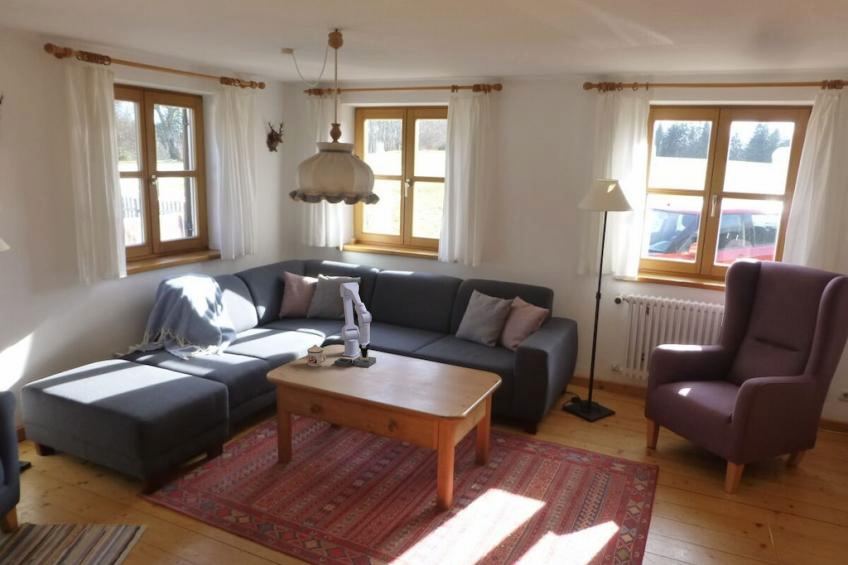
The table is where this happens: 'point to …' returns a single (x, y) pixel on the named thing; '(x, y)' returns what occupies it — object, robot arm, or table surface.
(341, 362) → the grey hollow square frame
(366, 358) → the plug
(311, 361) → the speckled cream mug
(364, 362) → the port
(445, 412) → the table surface
